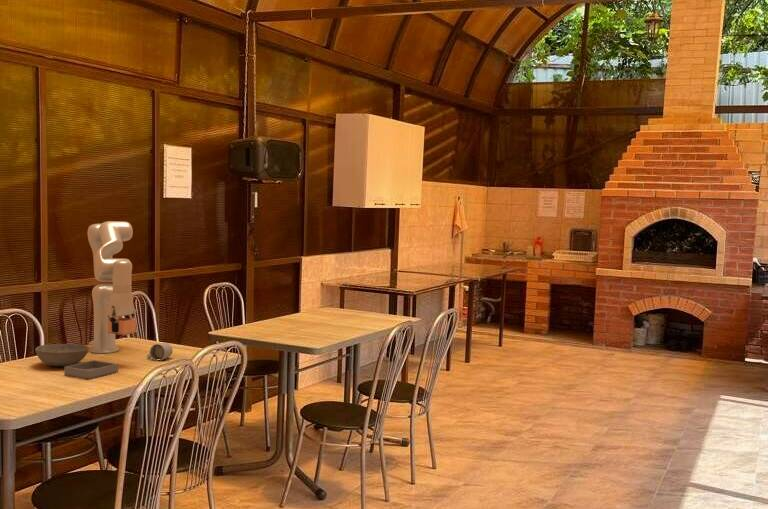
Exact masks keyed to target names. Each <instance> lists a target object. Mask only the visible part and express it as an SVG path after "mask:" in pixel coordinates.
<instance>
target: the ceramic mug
mask: <svg viewBox="0 0 768 509" xmlns="http://www.w3.org/2000/svg"><path fill="white" fill-rule="evenodd" d="M172 354H173V347H172V345H171V344H169V343H167V342H160V343H154V344H152V346H151V347H150V348H149V353H148V354H147V355H146V357H147V359H152V360H153V361H155V360H157V359H160V361H163V360H166V359H168V358H170V357H171V356H172ZM150 357H151V358H150Z"/></svg>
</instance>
